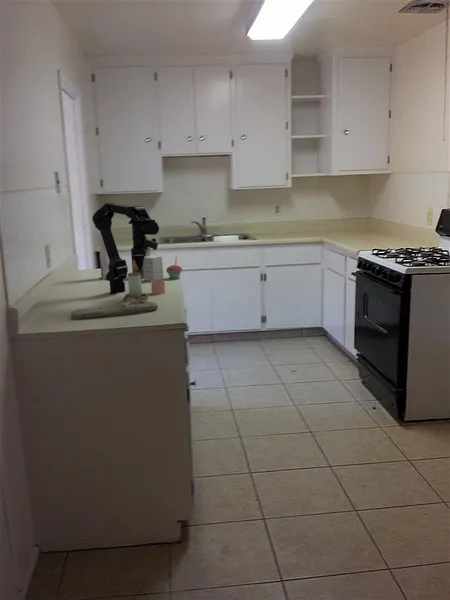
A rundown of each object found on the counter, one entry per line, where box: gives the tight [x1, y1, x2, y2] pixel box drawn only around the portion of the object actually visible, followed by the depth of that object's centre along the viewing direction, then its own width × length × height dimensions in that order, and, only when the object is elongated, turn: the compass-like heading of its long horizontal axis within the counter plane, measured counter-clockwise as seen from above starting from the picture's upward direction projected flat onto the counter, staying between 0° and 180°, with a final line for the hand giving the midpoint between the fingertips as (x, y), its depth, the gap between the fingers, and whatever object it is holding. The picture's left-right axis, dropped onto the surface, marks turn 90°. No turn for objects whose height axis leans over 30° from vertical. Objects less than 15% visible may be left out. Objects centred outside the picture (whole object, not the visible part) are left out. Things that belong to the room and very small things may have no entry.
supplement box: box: [144, 254, 164, 282], centre depth 303 cm, size 7×7×13 cm
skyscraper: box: [97, 229, 113, 281], centre depth 311 cm, size 8×8×28 cm
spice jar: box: [127, 272, 143, 298], centre depth 254 cm, size 6×6×11 cm
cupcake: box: [166, 255, 183, 280], centre depth 305 cm, size 9×8×12 cm
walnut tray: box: [123, 292, 149, 302], centre depth 255 cm, size 10×10×2 cm
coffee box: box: [130, 247, 151, 279], centre depth 313 cm, size 9×6×16 cm
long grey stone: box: [70, 298, 159, 321], centre depth 230 cm, size 35×5×10 cm
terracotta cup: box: [150, 279, 166, 295], centre depth 267 cm, size 6×6×6 cm
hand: (141, 268), depth 260 cm, fingers open, 9 cm apart
